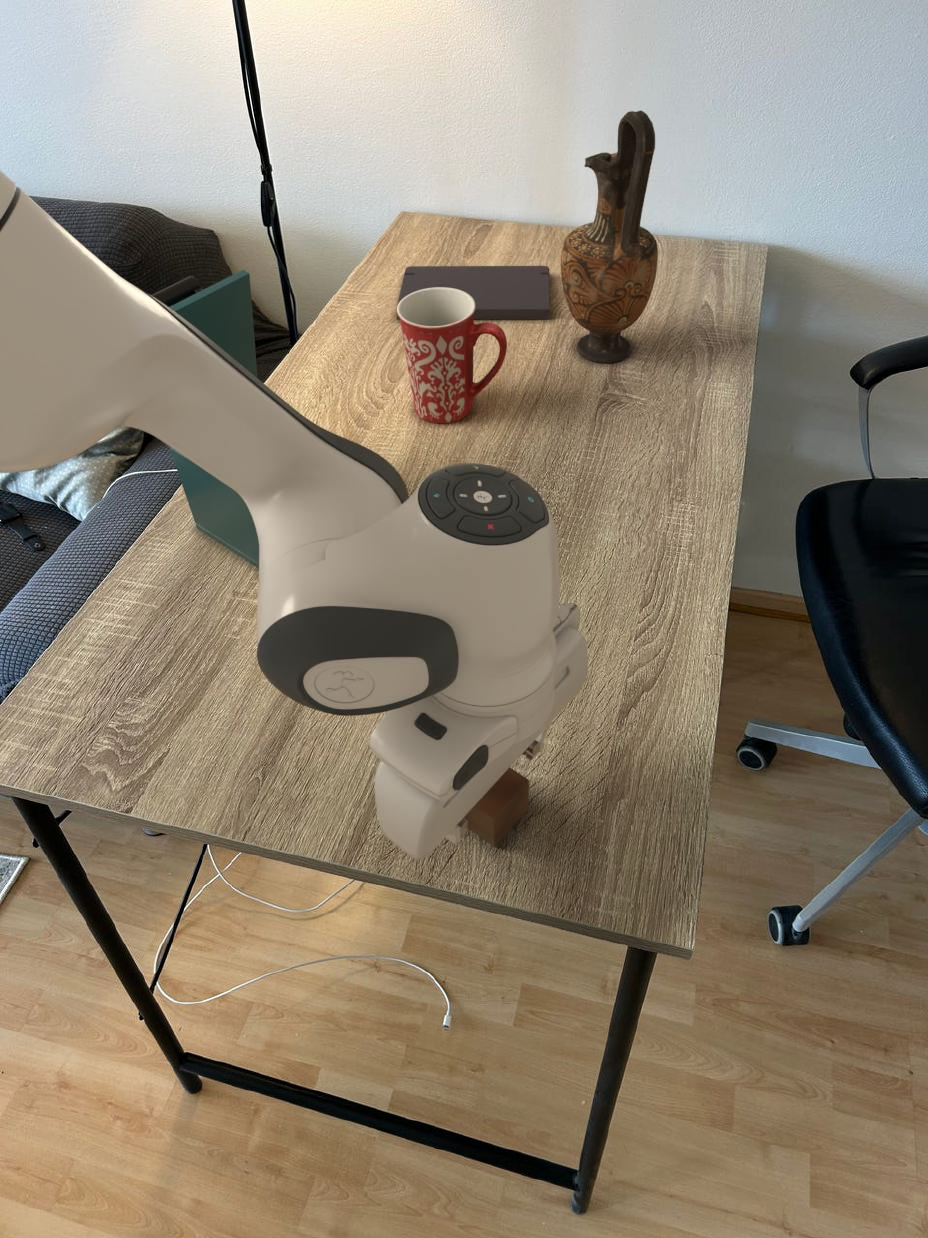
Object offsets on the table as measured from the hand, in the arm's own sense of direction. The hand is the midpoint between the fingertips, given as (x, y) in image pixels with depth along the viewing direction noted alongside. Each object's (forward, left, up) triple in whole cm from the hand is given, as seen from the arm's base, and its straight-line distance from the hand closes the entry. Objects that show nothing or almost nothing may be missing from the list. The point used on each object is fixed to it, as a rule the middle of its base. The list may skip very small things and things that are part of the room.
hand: (492, 790), depth 70 cm
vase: (-8, +70, -4) cm, 70 cm away
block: (0, 0, -3) cm, 3 cm away
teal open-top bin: (-33, +26, -3) cm, 42 cm away
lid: (-38, +27, +15) cm, 49 cm away
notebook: (-29, +79, -4) cm, 84 cm away
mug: (-22, +52, -4) cm, 56 cm away
